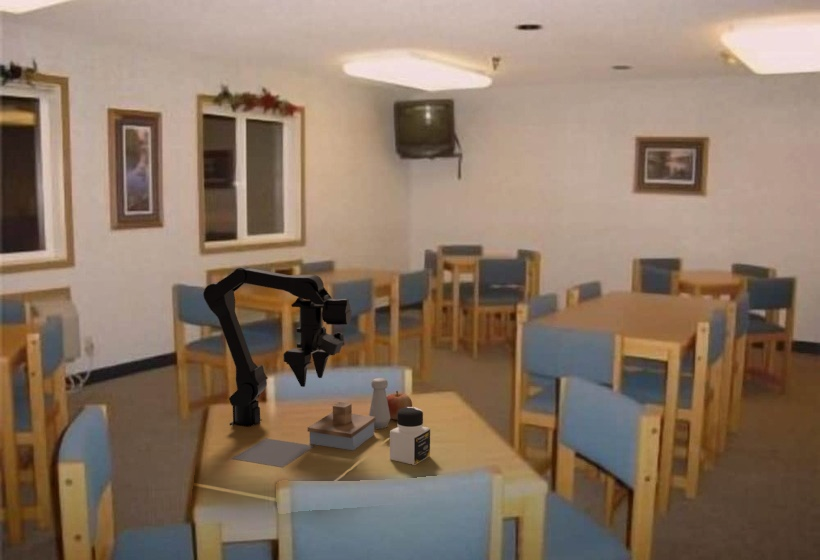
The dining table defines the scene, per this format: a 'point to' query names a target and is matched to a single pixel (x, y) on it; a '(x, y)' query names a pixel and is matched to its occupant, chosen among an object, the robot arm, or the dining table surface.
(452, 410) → the dining table surface
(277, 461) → the mat
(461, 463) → the dining table surface
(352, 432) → the lid
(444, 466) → the dining table surface
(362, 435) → the blue-grey open box
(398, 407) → the apple
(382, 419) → the salt shaker
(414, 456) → the medicine bottle
